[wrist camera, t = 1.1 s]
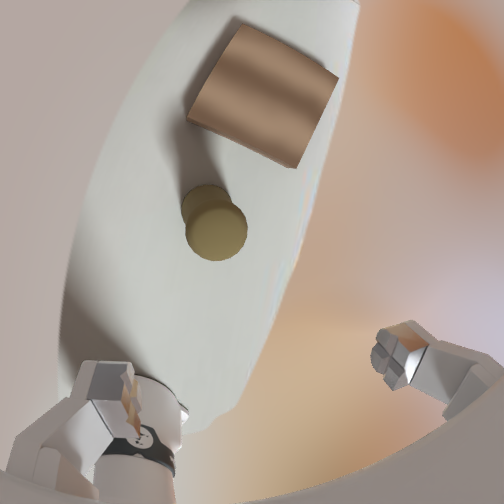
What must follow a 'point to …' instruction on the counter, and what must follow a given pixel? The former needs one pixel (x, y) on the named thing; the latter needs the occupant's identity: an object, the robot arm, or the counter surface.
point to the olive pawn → (213, 223)
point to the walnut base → (264, 97)
